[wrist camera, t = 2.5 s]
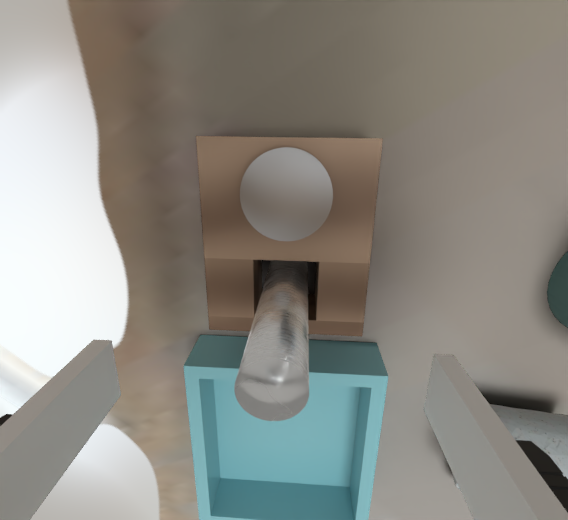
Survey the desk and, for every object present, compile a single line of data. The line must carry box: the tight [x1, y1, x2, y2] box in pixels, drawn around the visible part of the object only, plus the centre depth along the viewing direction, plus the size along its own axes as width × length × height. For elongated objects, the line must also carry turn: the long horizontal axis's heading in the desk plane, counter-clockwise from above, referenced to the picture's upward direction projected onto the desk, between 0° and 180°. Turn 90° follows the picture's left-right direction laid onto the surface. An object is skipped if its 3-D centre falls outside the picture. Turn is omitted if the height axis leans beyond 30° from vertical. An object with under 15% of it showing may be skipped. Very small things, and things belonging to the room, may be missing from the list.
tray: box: [184, 335, 388, 520], centre depth 28 cm, size 16×14×4 cm
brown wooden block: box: [196, 136, 383, 336], centre depth 21 cm, size 12×10×5 cm
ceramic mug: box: [453, 404, 568, 489], centre depth 25 cm, size 11×8×8 cm
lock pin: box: [234, 260, 309, 421], centre depth 19 cm, size 3×3×13 cm
